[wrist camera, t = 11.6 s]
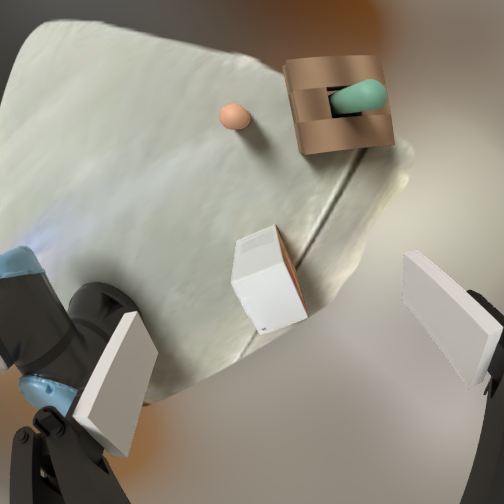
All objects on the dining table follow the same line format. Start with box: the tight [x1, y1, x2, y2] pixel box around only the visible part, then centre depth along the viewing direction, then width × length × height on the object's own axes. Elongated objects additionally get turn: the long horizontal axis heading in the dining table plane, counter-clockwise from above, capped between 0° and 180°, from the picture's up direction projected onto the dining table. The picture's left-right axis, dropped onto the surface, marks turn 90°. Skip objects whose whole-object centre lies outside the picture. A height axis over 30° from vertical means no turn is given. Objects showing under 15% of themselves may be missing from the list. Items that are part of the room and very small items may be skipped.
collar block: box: [283, 55, 395, 155], centre depth 33 cm, size 12×12×5 cm
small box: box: [231, 225, 308, 335], centre depth 38 cm, size 8×6×13 cm
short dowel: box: [219, 103, 251, 129], centre depth 33 cm, size 3×3×7 cm
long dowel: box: [328, 79, 387, 115], centre depth 29 cm, size 3×3×14 cm
